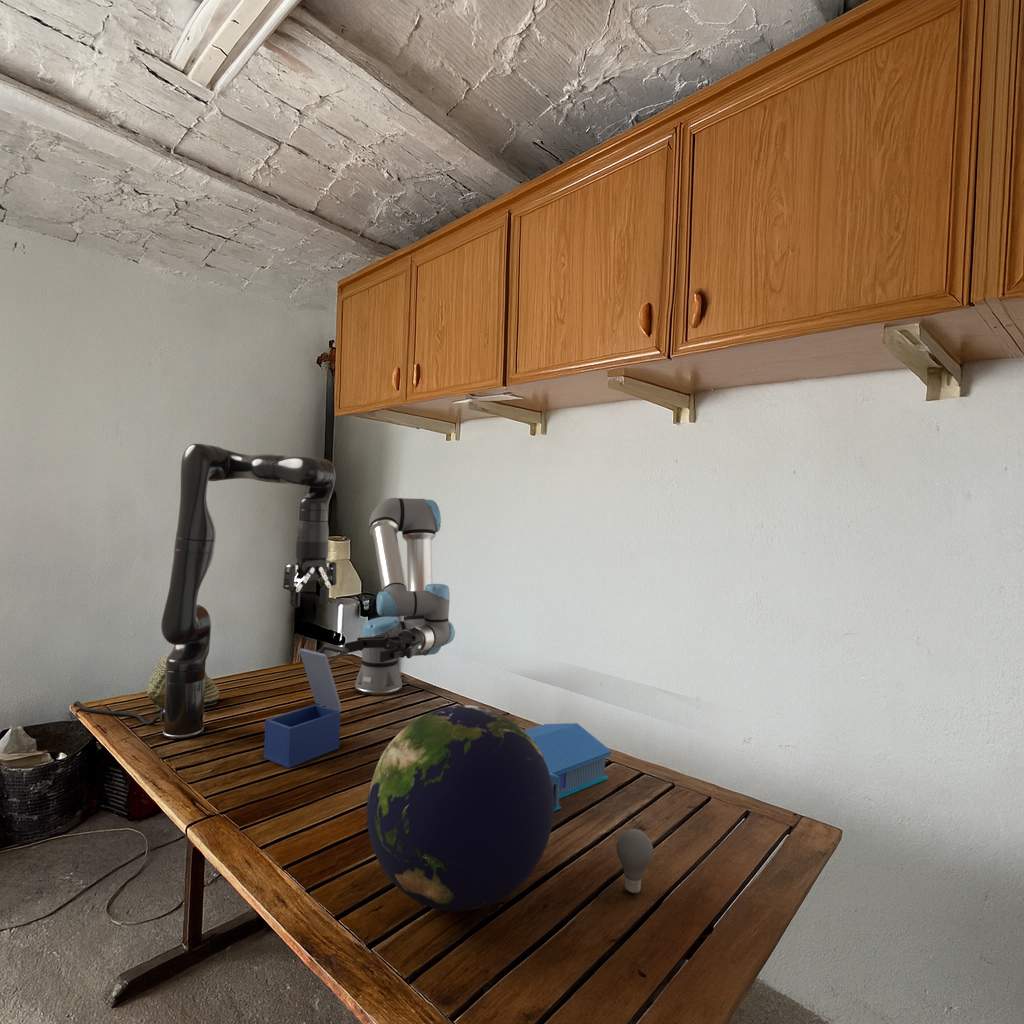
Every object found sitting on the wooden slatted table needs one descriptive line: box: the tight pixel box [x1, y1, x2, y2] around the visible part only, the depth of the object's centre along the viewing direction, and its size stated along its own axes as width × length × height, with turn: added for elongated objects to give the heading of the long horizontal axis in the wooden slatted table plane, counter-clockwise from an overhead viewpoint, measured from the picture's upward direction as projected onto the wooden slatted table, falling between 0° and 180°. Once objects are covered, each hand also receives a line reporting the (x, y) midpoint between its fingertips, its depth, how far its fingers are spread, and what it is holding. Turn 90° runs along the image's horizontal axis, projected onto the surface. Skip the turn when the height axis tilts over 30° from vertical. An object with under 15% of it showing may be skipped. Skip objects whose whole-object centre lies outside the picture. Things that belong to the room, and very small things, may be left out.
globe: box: [366, 704, 555, 913], centre depth 102 cm, size 30×30×30 cm
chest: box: [263, 703, 342, 769], centre depth 156 cm, size 15×9×9 cm, turn 147°
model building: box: [523, 722, 612, 812], centre depth 142 cm, size 39×24×10 cm, turn 132°
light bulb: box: [615, 828, 654, 894], centre depth 106 cm, size 6×6×10 cm
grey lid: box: [298, 642, 349, 712], centre depth 162 cm, size 16×9×8 cm
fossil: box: [147, 654, 221, 712], centre depth 185 cm, size 9×18×15 cm, turn 132°
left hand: (309, 605), depth 155 cm, fingers open, 8 cm apart
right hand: (362, 652), depth 171 cm, fingers open, 13 cm apart
